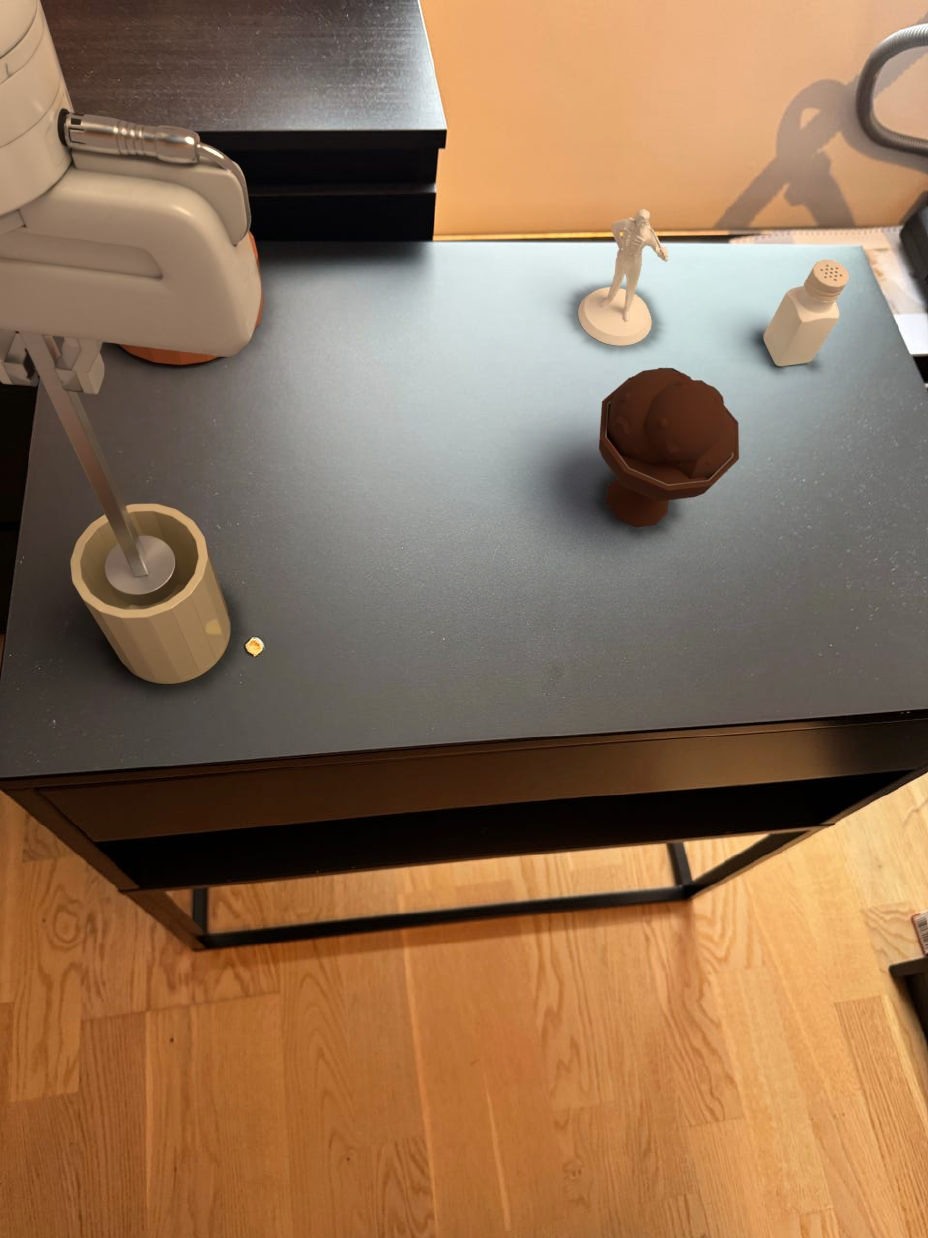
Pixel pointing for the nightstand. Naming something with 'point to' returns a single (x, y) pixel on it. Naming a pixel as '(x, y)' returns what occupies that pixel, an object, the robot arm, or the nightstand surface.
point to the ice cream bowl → (664, 442)
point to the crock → (168, 630)
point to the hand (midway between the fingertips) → (55, 378)
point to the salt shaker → (806, 315)
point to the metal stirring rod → (107, 493)
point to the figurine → (617, 309)
